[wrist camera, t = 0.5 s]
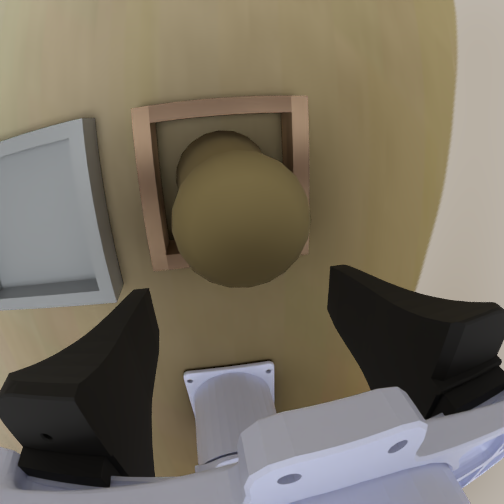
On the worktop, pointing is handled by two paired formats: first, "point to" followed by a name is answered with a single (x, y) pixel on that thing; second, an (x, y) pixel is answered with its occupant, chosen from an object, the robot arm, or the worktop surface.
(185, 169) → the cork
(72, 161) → the tray
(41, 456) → the robot arm
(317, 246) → the worktop surface
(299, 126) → the wooden square frame
